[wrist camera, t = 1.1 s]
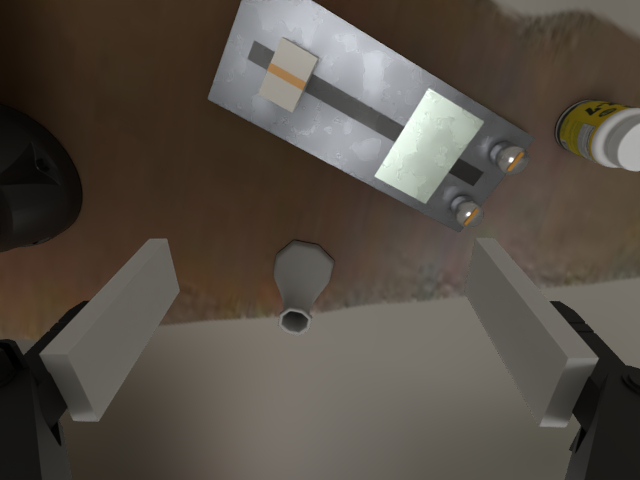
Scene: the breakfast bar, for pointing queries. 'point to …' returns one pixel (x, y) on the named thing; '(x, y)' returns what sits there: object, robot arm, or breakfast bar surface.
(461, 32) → the breakfast bar surface
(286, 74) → the fader
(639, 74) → the breakfast bar surface
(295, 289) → the flask
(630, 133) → the supplement bottle
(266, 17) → the console
